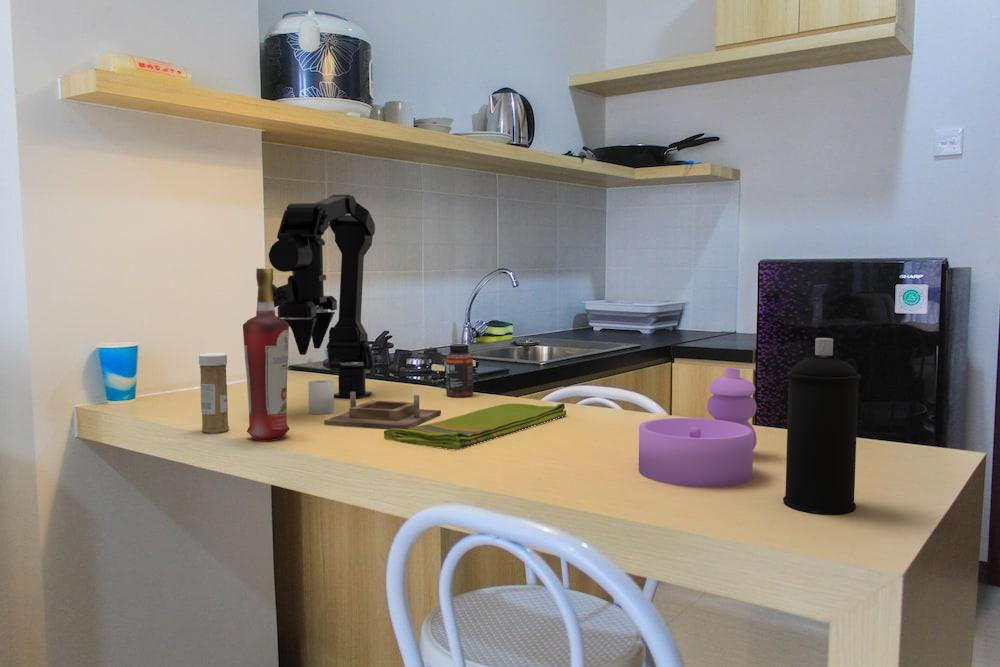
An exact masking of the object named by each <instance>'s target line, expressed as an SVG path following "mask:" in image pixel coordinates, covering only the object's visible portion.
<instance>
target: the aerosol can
mask: <svg viewBox="0 0 1000 667" xmlns="http://www.w3.org/2000/svg"><path fill="white" fill-rule="evenodd" d="M814 342H815V344H814V345H815V347H814V355H812V356H811V357H808V358H804V359H803V360H800V361H798V362H797V363H796V364H794V365H793V366H792V367H791V370H788V371H787V372H786V376H787V377H788V390H787V391H788V392H787V393H788V394H787V422H786V423H787V427H786V430H787V433H786V459H785V461H786V463H785V494H784V496H783V498H782V501H783V503H784V505H786V506H787V507H789V508H791V509H794V510H795V511H796V510H797V511H799V512H804V513H810V514H819V515H844V514H849V513H852V512H854V511H855V510H856V509H857V505H856V503H855V490H856V489H855V487H856V485H855V484H856V483H855V482H856V463H857V462H856V458H857V454H856V453H857V432H858V430H857V428H858V402H859V381H860V380H861V379H862V375H861V374H859V373H857V371H856V369H855V368H854V367H853V366H852V365H851V364H850V363H849V362H846V361H845V360H842V359H839V358H837V357H836V356H835V355H834V338H831V337H829V338H828V337H816V338H815V339H814ZM833 355H834V356H833Z"/></svg>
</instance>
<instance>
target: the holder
mask: <svg viewBox="0 0 1000 667" xmlns="http://www.w3.org/2000/svg"><path fill="white" fill-rule="evenodd" d="M349 400H350V403H349V404H350V408H348V412H345V413H342V414H341V413H340V414H338V415H336V416H333V417H330V418H327V419H325V420H324V425H327V426H340V427H354V428H367V429H381V430H382V429H383V430H389V429H407V428H412V427H417V426H420V425H421V424H423V423H425V422H428V421H430V420H432V419H434V418H436V416H437V417H438V415H439V416H441V415H442V410H440V409H424V408H423V409H421V408H420V395H419V394H415V395H413V402H411V401H410V402H409V401H408V402H407V401H391V400H390V401H389V400H376V399H375V400H373V399H372V400H370V401H367V402H364V403H362V404H359V405H357V401H356V400H357V398H356V392H350V398H349ZM440 414H441V415H440Z"/></svg>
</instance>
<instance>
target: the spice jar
mask: <svg viewBox="0 0 1000 667" xmlns="http://www.w3.org/2000/svg"><path fill="white" fill-rule="evenodd" d="M227 356H228V355H227V353H225V352H205V353H200V354H199V356H198V364H199V368H200V369H199V370H200V387H199V388H200V407H201V408H200V411H201V423H202V426H201V431H202V432H203V433H206V434H207V433H208V434H219V433H224V432H227V431H228V430H229V429H230V427H229V413H228V411H229V404H228V403H229V402H228V385H227V364H228V357H227Z"/></svg>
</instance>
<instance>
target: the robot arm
mask: <svg viewBox="0 0 1000 667" xmlns="http://www.w3.org/2000/svg"><path fill="white" fill-rule="evenodd" d="M329 227H330V229H331V231H332V233H333V235H334V242H335V244H336V246H337V248H338V249H339V252H340V253H341V261H340V262H341V264H340V280H339V281H340V286H339V301H338V300H337V299H336V298H335V297H334V296H333V295H325V294H324V292H325V291H324V286H325V285H324V281H326V280H327V274H324V264H323V263H324V261H323V260H324V259H323V258H324V255H323V254H324V253H323V246H325V245H326V242H325V240H324V239H323V238H322V236H323V235H324V234H325V231H327V230H328V229H329ZM375 231H376V225H375V221H374V219H373V218H372V215H371V213H370V211H369V210H368V209H367V208H365V207H364V206H363V205H361V204H360V203H359V202H357V200H356V197H354V195H350V194H332V195H329V196H328V197H327V198H324V199H321V200H318V201H316V202H300V203H299V202H297V203H293V202H292V203H289V204H288V205H287V207H286V209H285V210H284V212H283V215H282V218H281V221H280V225H279V228H278V232H277V235H276V238H277V239H278V240H277V241H275V242H274V243H273V244H272V245H271V247H270V250H269V252H268V259H269V263H270V264H271V266H272V267H273V269H275V270H276V271H279V272H282V273H283V272H284V273H287V272H292V273H291V274H292V275H288V277H287V283H286V284H283V285H281V286H278V287H277V286H276V285H275V284H274V283H273V284H272V292H273V301H274V308H276V307H277V317H279V318H281V319H284V320H285V321H286V322H287V323H288V324H289V328H290V329H291V332H292V335H293V337H294V341H295V343H296V347H297V350H298V353H299V355H301V356H306V355H307V353H308V349H309V347H310V342H311V339H312V343H313V344H312V345H313V348H314V349H320V348H321V346H322V344H323V342H324V339H325V336H326V334H327V331H328V329H329V331H328V342H327V346H326V351H327V358H328V364H329V369H338V392H336V393H334V398H335V397H336V398H349V399H350V392H356V399H360V398H363V397H367V396H370V395H372V394H373V391H366V370H370V369H374V366H375V355H374V353H373V351H372V350H373V349H372V347H371V345H370V343H369V336H368V333H367V331H366V329H365V327H364V325H363V324H362V307H363V306H362V305H363V304H362V303H363V284H364V282H363V280H364V260H365V259H364V258H365V255H366V254H367V252H368V251H369V250H370V248H371V246H372V245H373V236H374V235H375V233H376V232H375ZM337 302H339V304H338V303H337ZM329 310H330V311H329ZM337 310H338V321H337V322H336V324H334V326H331V327H330V328H329V326H330V325H331V322H332V320H333V318H334V315H335V314H336V311H337Z"/></svg>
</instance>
